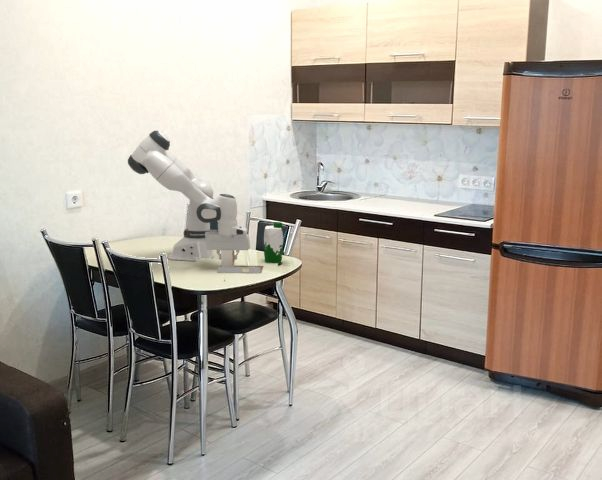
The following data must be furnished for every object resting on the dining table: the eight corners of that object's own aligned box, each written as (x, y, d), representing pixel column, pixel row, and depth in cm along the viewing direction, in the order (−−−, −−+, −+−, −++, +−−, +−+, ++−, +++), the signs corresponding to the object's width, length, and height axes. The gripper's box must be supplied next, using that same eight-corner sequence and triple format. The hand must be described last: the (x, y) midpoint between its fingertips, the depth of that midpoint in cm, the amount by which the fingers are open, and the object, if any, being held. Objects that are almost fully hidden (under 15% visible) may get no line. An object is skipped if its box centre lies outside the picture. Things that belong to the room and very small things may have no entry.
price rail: (217, 272, 284) (217, 267, 284) (218, 272, 285) (218, 266, 285) (260, 273, 284) (260, 267, 283) (260, 272, 285) (260, 267, 284)
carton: (233, 269, 290) (232, 250, 288) (221, 269, 290) (221, 250, 288) (234, 266, 297) (234, 247, 295) (223, 266, 297) (223, 247, 295)
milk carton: (282, 265, 303) (282, 224, 299) (263, 265, 304) (263, 224, 300) (283, 261, 312) (283, 221, 308) (264, 261, 312) (264, 221, 308)
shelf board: (216, 275, 285) (216, 272, 284) (221, 267, 298) (221, 265, 298) (261, 275, 284) (261, 273, 284) (263, 268, 298) (263, 265, 298)
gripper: (203, 230, 287) (204, 260, 289) (249, 231, 286) (249, 261, 289) (206, 228, 293) (206, 257, 296) (250, 228, 293) (250, 257, 295)
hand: (228, 259), depth 292 cm, fingers closed on carton, 5 cm apart
